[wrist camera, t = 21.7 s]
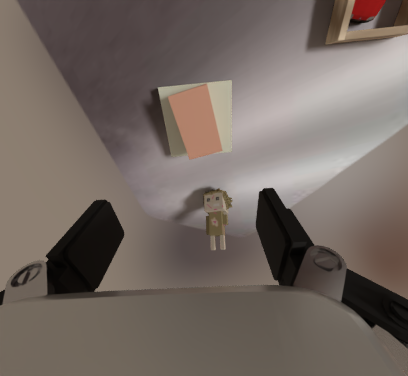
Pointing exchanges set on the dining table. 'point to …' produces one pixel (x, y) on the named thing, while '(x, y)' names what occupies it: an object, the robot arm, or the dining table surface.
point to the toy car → (365, 10)
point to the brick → (196, 121)
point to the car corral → (339, 24)
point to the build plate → (221, 108)
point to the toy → (216, 215)
